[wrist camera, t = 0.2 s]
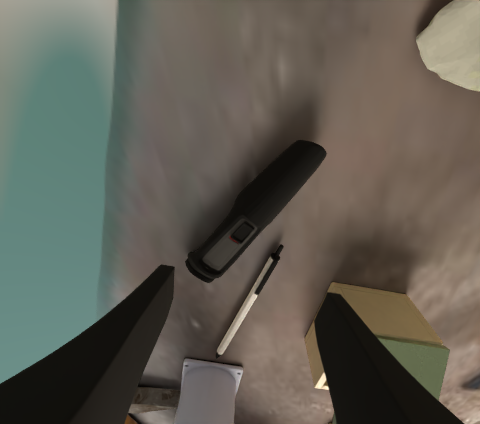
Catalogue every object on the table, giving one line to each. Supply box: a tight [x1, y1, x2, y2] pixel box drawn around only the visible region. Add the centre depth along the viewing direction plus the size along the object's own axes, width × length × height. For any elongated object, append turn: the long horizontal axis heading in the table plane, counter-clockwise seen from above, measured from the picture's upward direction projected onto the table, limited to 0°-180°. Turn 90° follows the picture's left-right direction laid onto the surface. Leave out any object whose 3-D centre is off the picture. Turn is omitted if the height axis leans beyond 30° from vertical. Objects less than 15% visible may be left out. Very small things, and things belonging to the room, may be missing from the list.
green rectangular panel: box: [332, 334, 450, 424], centre depth 19 cm, size 10×8×1 cm
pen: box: [216, 245, 284, 359], centre depth 25 cm, size 1×19×1 cm, turn 159°
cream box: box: [305, 282, 443, 390], centre depth 23 cm, size 9×8×5 cm
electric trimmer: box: [185, 140, 326, 283], centre depth 19 cm, size 4×16×3 cm, turn 142°
